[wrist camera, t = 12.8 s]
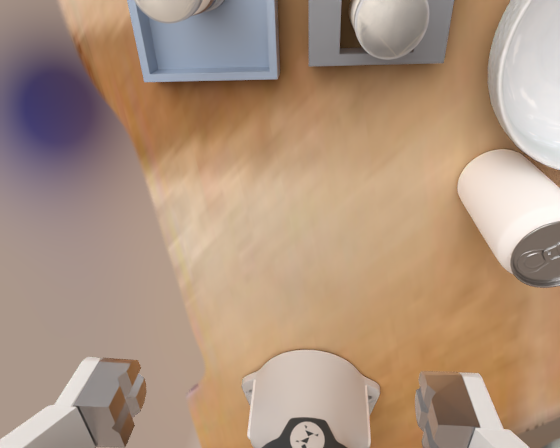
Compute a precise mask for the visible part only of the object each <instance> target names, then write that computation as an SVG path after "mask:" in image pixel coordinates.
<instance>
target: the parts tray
mask: <svg viewBox="0 0 560 448" xmlns="http://www.w3.org/2000/svg"><path fill="white" fill-rule="evenodd" d="M127 2H128V7H129V11H130V16H131V21H132V26H133V31H134V35H135V40H136V45H137V50H138V54H139V59H140V64H141V69H142V73H143V78H144V82H174V81H220V80H266V79H278V77H279V74H280V54H279V27H278V1H277V0H225V1H224V3H223V4H222V5H220V6H219V7H218V8H216V9H214V10H211V11H207V12H203V13H200V14H197V15H194V16H191V17H189V18H188V19H185V20H183V21H180V22H177V23H171V24H167V23H161V22H158V21H155V20H153V19H151V18H150V17H148V16H147V15H146V14H145V13H143V12H142V10H141V9H140V8H139V7H138V6H137V4H136V3H135V1H134V0H127Z"/></svg>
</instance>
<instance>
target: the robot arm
mask: <svg viewBox="0 0 560 448" xmlns="http://www.w3.org/2000/svg"><path fill="white" fill-rule="evenodd" d="M140 369H141V367H140V364H139V362H138V360H126V359H113V358H95V357H87V358H86V359H84V360H83V361H82V362H81V363H80V365H79V367H78V368H77V370H76V371H75V373H74V374H73V376H72V378H71V379H70V381H69V382H68V384H67V385H66V387H65V389H64V390H63V392H62V393H61V395H60V396H59V398H58V400H57V401H56V403H55V404H54V405H49V406H47V407H46V408H45V409H43V410H41V411H40V412H39V413H37V414H36V415H34V416H33V417H32V418H30V419H29V420H27V421H26V422H25V423H23V424H22V425H20V426H19V427H17V428H16V429H14V430H13V431H12V432H10V433H9V434H7V435H6V436H4V437H3V438H2V439H0V448H96V447H119V448H125V446H126V444H127V442H128V440H129V437H130V435H131V433H132V430H133V428H134V426H135V425H134V422H133V417H134V416H135V415H136V414H138V413H139V412H140V411H141V409H142V406H143V404H144V401H145V395H146V383H145V379H144V378H143V377H142V376H141V375H140V374H138V373H139V371H140ZM419 384H420V388H419V389H418V390H416V396H415V411H416V418H417V423H418V426H419V427H420V428H421V429H422V431H423V432H424V433H423V438H422V445H423V448H530V447H528V446H527V445H526V444H525V443H524V442H523V441H522V440H521V439H520V438H518V437H517V436H516V435H515V434H514V433H513V432H512V431H511V430H507V429H504V428H503V426H502V424H501V421H500V419H499V417H498V414H497V412H496V410H495V407H494V405H493V402H492V400H491V398H490V395H489V393H488V391H487V388H486V386H485V383H484V381H483V379H482V376H481V375H480V374H479V373H461V372H459V373H458V372H440V371H421V373H420V375H419ZM242 389H243V391H244V393H245V396H246V398H247V400H248V402H249V405H250V415H249V424H248V438H249V439H250V440H251V444H252V446H253V447H254V448H370V445H371V435H370V420H369V416H370V414H371V412H372V410H373V408H374V406H375V404H376V402H377V400H378V398H379V395H380V386H379V384H377V383H376V382H374V381H372V380H370V379H368V378H366V377H364V376H363V375H362V374H361V373H360V372H359V371H358V370H357V369H356V368H355V367H354V366H353V365H352V364H351V363H349V362H348V361H346V360H345V359H343V358H341V357H339V356H337V355H334V354H331V353H328V352H323V351H317V350H295V351H290V352H286V353H282V354H280V355H277V356H275V357H274V358H272V359H270V360H269V361H268V362H266V363H265V364H264V365H263V367H262V368H261V369H259V370H258V371H257V372H254V373H251V374H249V375H247V376H245V377H244V378H243V379H242Z"/></svg>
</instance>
